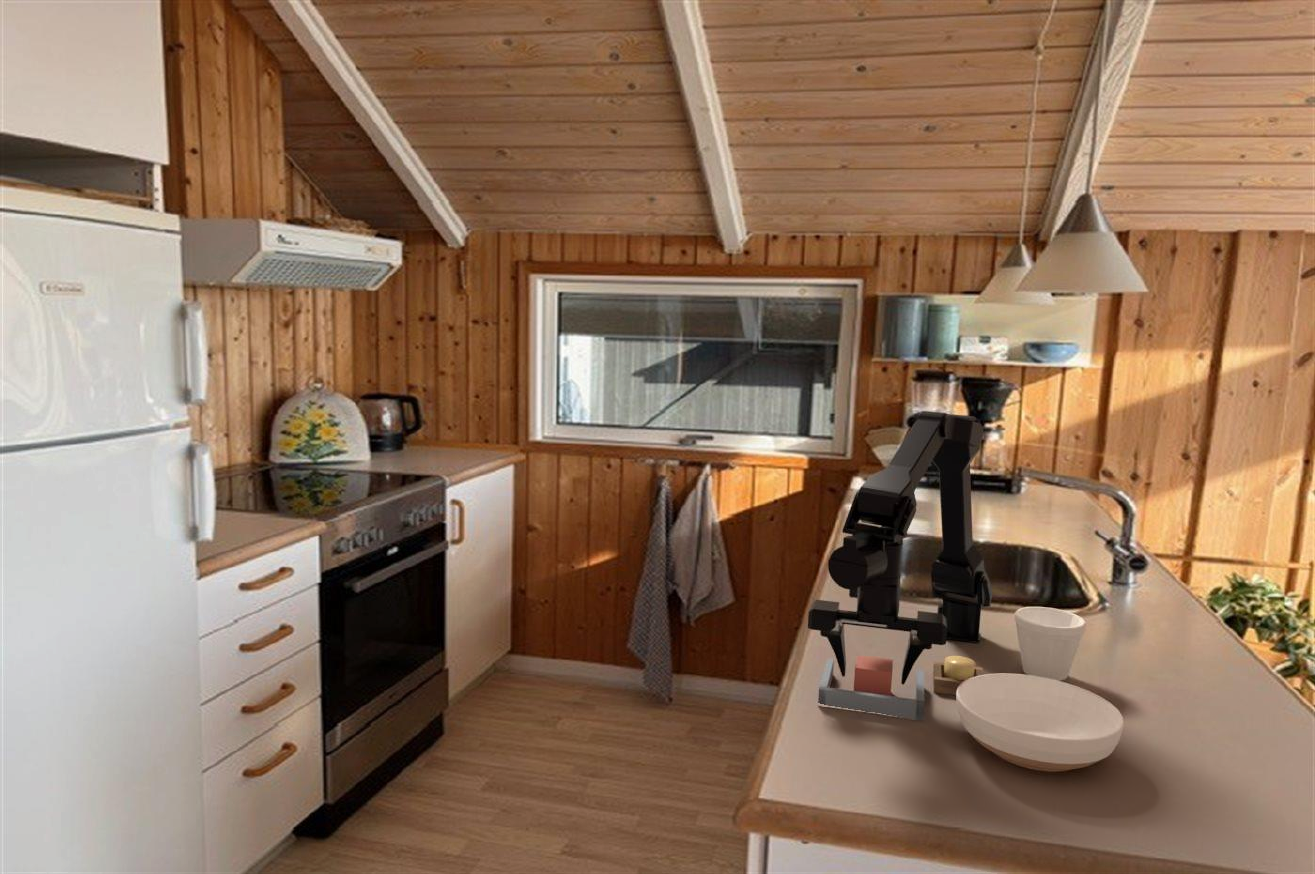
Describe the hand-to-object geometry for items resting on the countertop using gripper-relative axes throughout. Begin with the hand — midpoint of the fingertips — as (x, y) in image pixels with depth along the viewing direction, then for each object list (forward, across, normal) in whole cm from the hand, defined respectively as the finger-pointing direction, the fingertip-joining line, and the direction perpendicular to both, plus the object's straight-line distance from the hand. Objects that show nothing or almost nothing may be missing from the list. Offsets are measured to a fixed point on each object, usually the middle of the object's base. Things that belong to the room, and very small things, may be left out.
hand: (872, 679), depth 131 cm
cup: (+3, -25, -17) cm, 30 cm away
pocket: (+2, 0, 0) cm, 2 cm away
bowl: (+3, -20, +10) cm, 23 cm away
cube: (+3, 0, 0) cm, 3 cm away
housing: (+2, -12, -8) cm, 15 cm away
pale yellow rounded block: (+2, -12, -8) cm, 14 cm away
